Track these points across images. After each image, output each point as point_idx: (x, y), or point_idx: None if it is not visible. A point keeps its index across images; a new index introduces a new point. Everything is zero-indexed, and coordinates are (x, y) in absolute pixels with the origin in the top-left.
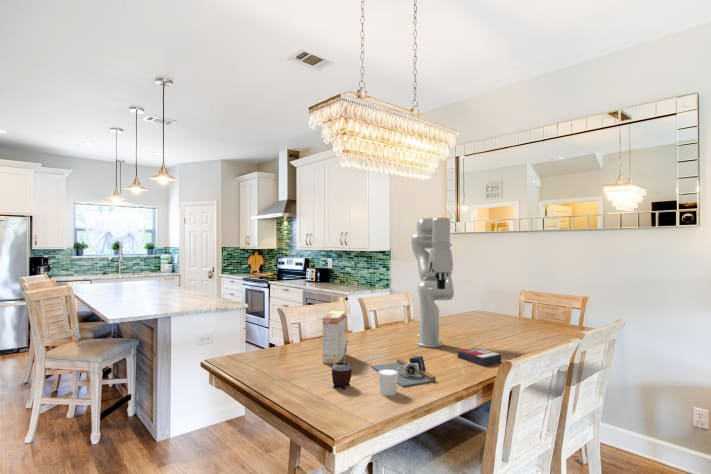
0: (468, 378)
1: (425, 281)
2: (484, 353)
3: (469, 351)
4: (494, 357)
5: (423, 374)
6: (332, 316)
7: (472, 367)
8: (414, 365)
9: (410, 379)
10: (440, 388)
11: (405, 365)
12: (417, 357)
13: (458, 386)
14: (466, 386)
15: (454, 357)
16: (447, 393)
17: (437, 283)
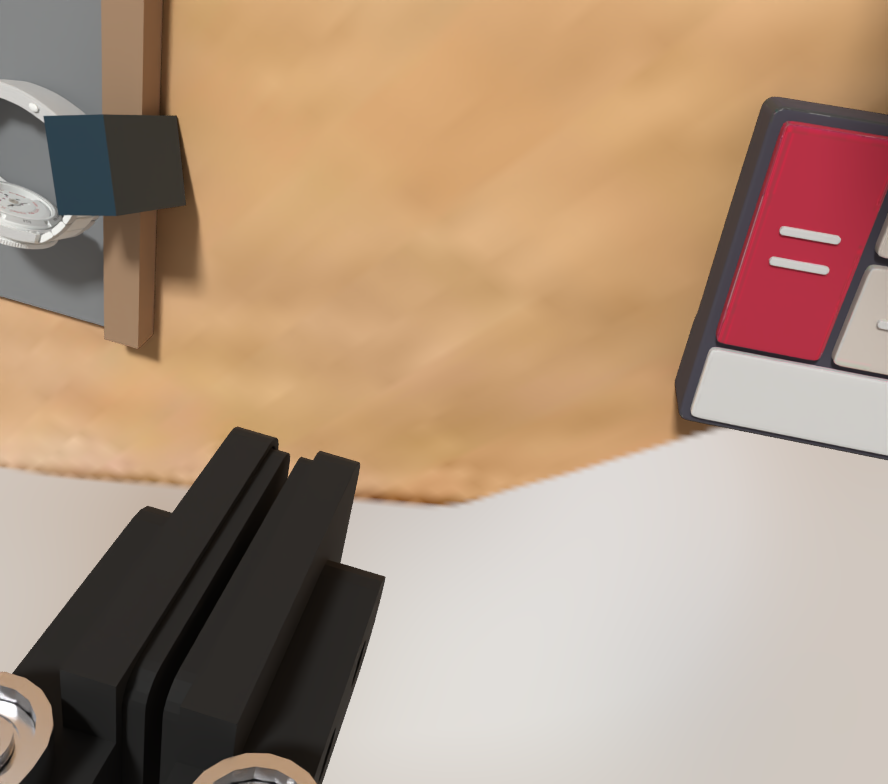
0: (367, 430)
1: None
2: (834, 362)
3: (802, 237)
4: (810, 440)
5: (107, 260)
6: None
7: (589, 342)
8: (11, 245)
9: None
10: (113, 408)
11: (27, 108)
12: (82, 186)
13: None
14: None
15: (745, 75)
16: (103, 463)
17: (89, 592)
